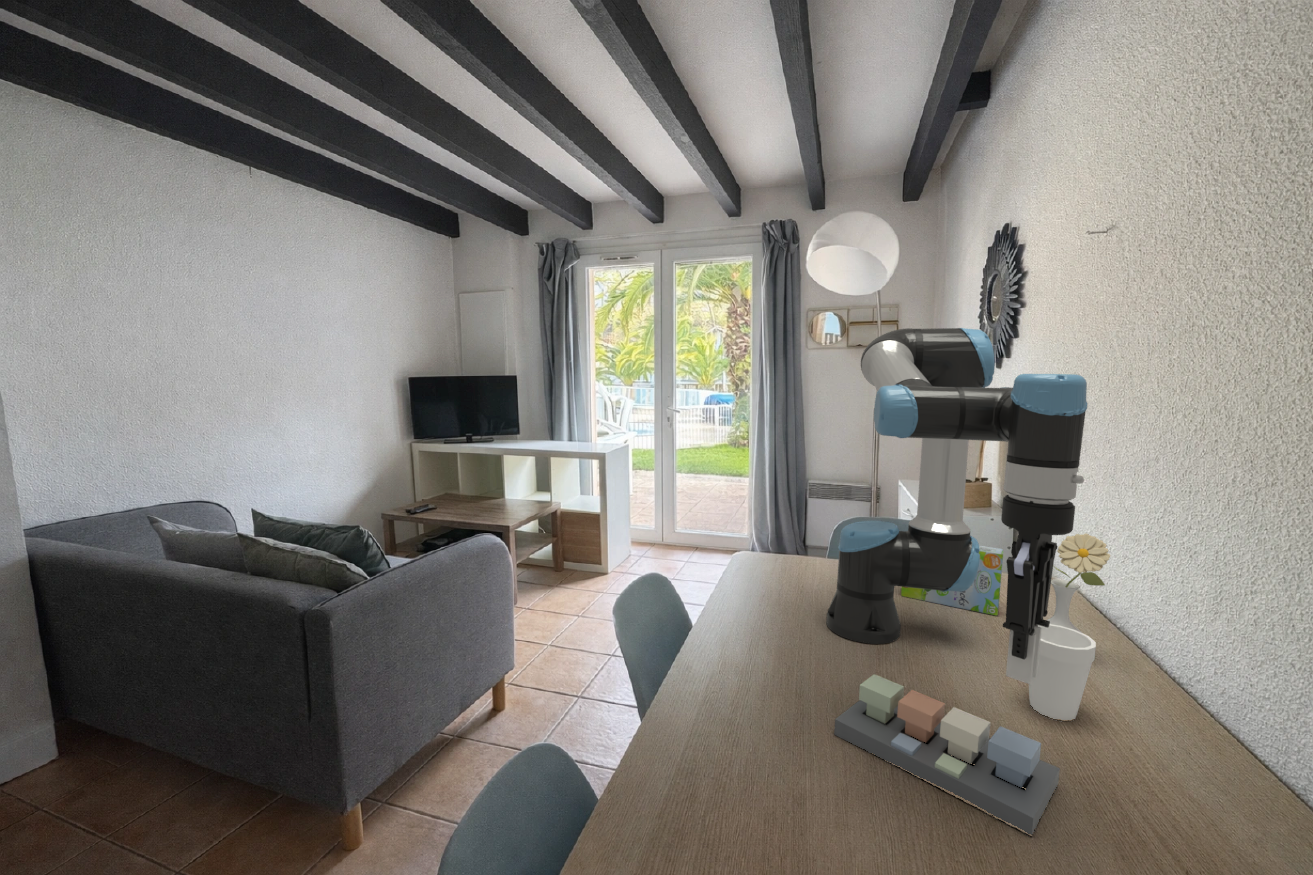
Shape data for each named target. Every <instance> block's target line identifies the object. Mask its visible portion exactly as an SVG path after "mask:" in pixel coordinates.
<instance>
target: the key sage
mask: <svg viewBox="0 0 1313 875" xmlns="http://www.w3.org/2000/svg"><path fill="white" fill-rule="evenodd" d="M858 691H859V692H858V693H859V695H858V701H859V700H861V701H863V702H865V703H867V710H866V715H867V716H870V717H872V718H874V720H875V719H876V721H877V720H878V722H879V721H880V722H881V723H883V724H885V723H886V722H888V721H889V720H890V719H891V718H892V717H893V716H894V709H895V708H896V707H897V706H898V701H900V700H901V699H902V698H903V697H904V696H905V695H904V693H905V685H902V684H900V683H897V682H894V681H892V680H890V679H888V678H885V677H883V676H880V675H877V674H874V673H873V674H872V675H871V676H870V677H868V678H867V679H865V680H864V681H863V682H862V683H861V684H859V690H858ZM885 725H886V724H885Z"/></svg>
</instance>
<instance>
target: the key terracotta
mask: <svg viewBox="0 0 1313 875" xmlns="http://www.w3.org/2000/svg"><path fill="white" fill-rule="evenodd" d="M945 709H946V703H945V702H943V701H940V700H938V699H935V698H933V697H930V696H928V695H926V694H924V693H921V692H918V691H915V690H914V689H911V690H910V691H908V693H907V694H906V695H904V696H903V698H902V699H901V700H900V701H898V713H897V717H898V718H901V719H903V720H905V721H906V723H905V733H906V734H908V735H910V737H911V736H912V738H913V737H914V739H915V738H916V739H918V740H919V741H921V742H923V743H924V742H925V744H926V742H927V741H928V740H929V739H930V738H931V737H932V736H933V735H934V728H935V727H936V726H937V725H938V724H939V723H940V722H941V720H942V719H943V718H944V717H945V712H946V711H945Z"/></svg>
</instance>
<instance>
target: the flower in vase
mask: <svg viewBox="0 0 1313 875" xmlns="http://www.w3.org/2000/svg"><path fill="white" fill-rule="evenodd" d="M1108 552H1109V548H1107V543H1106V542H1104V541H1103V540H1102V539H1099V538H1097V537H1096V536H1094V535H1090V534H1089V533H1083V534H1079V533H1076V534H1074V535H1071V536H1070V535H1068V536H1066V538H1065V539H1063V540H1061V543H1060V545H1058V547H1057V549H1056V553H1058V557H1059V559H1060V563H1061V564H1063V566H1066V567H1067V568H1068V569H1071V570H1073V571H1075V572H1077V574H1076V575H1075V576H1074V577H1073V578H1071V577H1070V575H1069V574H1067V573H1066V572H1065V571H1063V570H1061V569H1059V568H1057V567H1056V566H1055V565H1054V564H1053V568H1055V569H1056V570H1057V571H1058V572H1060V573H1062V574H1063V575H1065V576H1067V577H1068V578H1069V579H1071V580H1066V579H1058V578H1057V579H1055V578H1053V579H1051V586H1052V587H1053V590H1054V593H1055V594H1054V595H1055V610H1054V613H1053V615H1052V616H1051V617H1050V618H1047V619H1046V620H1047V621H1050V624H1052V625H1058V626H1063V627H1066V628H1070V629H1073V630H1076V631H1078V632H1081V633H1083V631H1081V630H1080V629H1079V628H1078V627H1076V626H1075V624H1073V622H1072V621H1071V620H1070V615H1069V614H1070V605H1071V601H1072V600H1073V596H1074V594H1075V592H1077V591H1078V590H1079V589H1080V588H1081V585H1080V584H1078V583H1076V582H1074V580H1076V579H1077V578H1078V577H1079V576H1080V578H1081V579H1082V582H1084V584H1086V585H1088V586H1100V587H1101V586H1106V584H1105V583H1104V581H1103V580H1102V579H1101V577H1100V576H1099V575H1098V574H1097V573H1095V572H1097V571H1098V572H1099V571H1101V570H1102V569H1103V568H1104V565H1107V564H1108V561H1109V560H1110V558H1111V554H1110V553H1108Z"/></svg>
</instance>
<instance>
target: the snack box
mask: <svg viewBox="0 0 1313 875" xmlns="http://www.w3.org/2000/svg"><path fill="white" fill-rule="evenodd" d="M979 549H980V550H979V554H980V562H979V568H978V572H977V576H976V578H975V580H974V582H973V584H972V585H971V586H970V587H969V588H968V589H967V590H965V591H962V592H956V591H947V592H942V591H940V590H931V589H920V588H910V587H901V586H900V587H901V589H900V596H901V597H903V598H904V597H905V598H910V599H914V600H919V601H923V602H928V603H934V604H938V605H944V606H947V607H953V608H956V609H957V608H958V609H962V610H963V609H964V610H968V611H973V612H977V613H982V614H986V615H992V616H995V617H996V616H997V617H998V615H999V610H1000V608H999V607H1000V599H1001V587H1002V586H1001V584H1002V576H1003V574H1002V572H1003V560H1004V549H1003V548H1000V547H999V548H998V547H991V546H984V545H979Z"/></svg>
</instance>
